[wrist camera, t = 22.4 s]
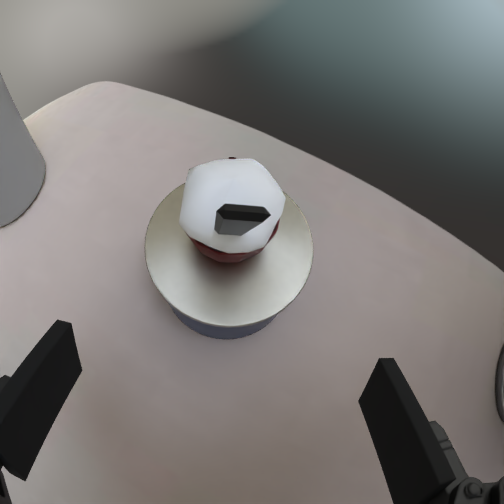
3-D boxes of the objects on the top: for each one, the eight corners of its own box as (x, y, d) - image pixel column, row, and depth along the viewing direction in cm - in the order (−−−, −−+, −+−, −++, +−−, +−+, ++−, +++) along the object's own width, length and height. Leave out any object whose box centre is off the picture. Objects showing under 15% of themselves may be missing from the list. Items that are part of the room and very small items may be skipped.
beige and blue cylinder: (268, 210, 33) (283, 162, 26) (306, 322, 28) (336, 300, 21) (153, 233, 30) (137, 187, 23) (176, 354, 26) (160, 344, 19)
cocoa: (215, 177, 24) (221, 45, 13) (288, 206, 24) (336, 80, 13) (156, 279, 20) (102, 166, 9) (240, 317, 20) (272, 233, 9)
